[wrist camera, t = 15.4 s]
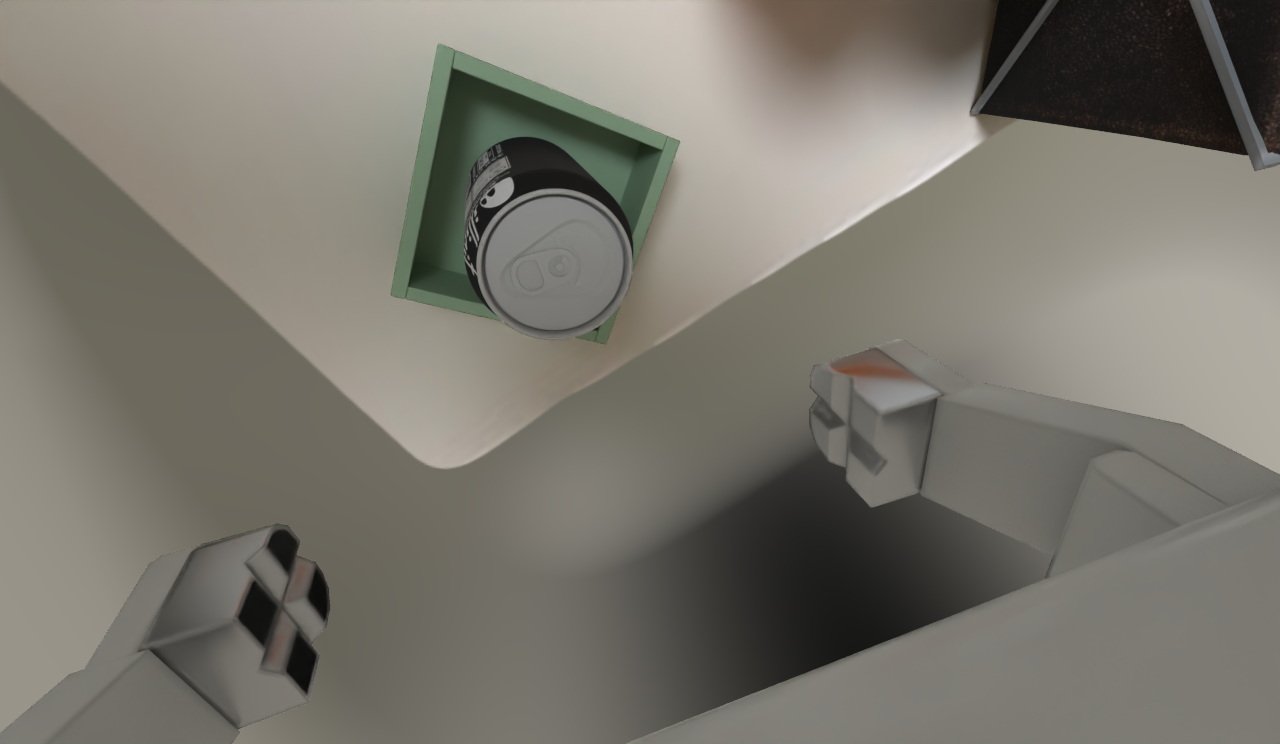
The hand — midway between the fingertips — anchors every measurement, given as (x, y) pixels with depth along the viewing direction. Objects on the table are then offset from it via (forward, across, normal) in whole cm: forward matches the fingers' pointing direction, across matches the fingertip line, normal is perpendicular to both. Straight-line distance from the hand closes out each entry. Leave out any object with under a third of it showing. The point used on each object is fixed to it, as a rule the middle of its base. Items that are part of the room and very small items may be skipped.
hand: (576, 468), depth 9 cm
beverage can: (+25, -1, +2) cm, 25 cm away
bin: (+25, -1, +2) cm, 25 cm away
